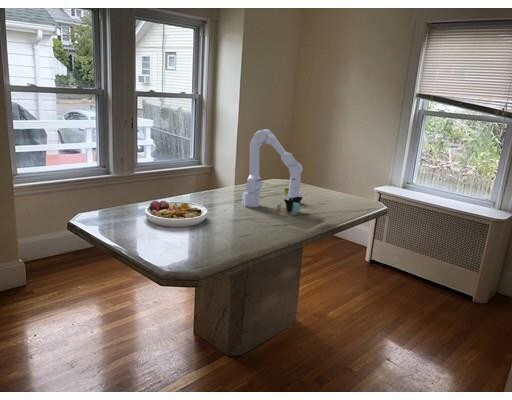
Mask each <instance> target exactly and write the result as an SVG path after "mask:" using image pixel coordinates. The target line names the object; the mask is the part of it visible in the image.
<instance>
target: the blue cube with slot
mask: <svg viewBox="0 0 512 400" xmlns="http://www.w3.org/2000/svg"><path fill="white" fill-rule="evenodd" d="M300 204H301V202H300V203H296V202H294V203H293V206H292V211H291V212H287V207H286V206H285V208H286V211H285V212H287V213H291V214H296V213H298V212H300Z"/></svg>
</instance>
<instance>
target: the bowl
mask: <svg viewBox="0 0 512 400" xmlns="http://www.w3.org/2000/svg"><path fill="white" fill-rule="evenodd" d="M144 213H145V217H146V218H147V219H148V220H149V221H150V222H151V223H153V224H155V225H158V226H162V227H166V228H167V227H168V228H169V227H170V228H186V227H193V226H195V225H199V224H200V223H202V222H204V221H205V220H206V218H207V217H208V209H207V208H206V207H205V206H203V205H201V204H197V203H193V202H186V201H166V200H160V201H158V200H153V201H152V202H151V203H149V205H148V206H146V208H145V210H144Z"/></svg>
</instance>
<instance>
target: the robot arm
mask: <svg viewBox="0 0 512 400" xmlns="http://www.w3.org/2000/svg"><path fill="white" fill-rule="evenodd" d="M264 143H265V144H267V145H271V146H272V147H273V149H275V151H276V152H277V153H278V154H279V155H280V160H281V161H282V162H283V164H284V165H285V166H286V167H287V169H288V172H289V174H290V177H289V187H288V188H289V193H288V194H287V196H285V195H284V198H283V201H284V203H285V208H286V207H287V212H291V211H292V206H293V203H294V202H296V203H300V204H301V201H302V200H303V196H302V195H303V192H302V191H300V188H301V181H302V180H301V179H302V177H301V175H302V172H303V170H304V168H303V166H302V164H301V163H300V162H298V161H297V160H296V159H295V157H294V156H293V153H292V152H291V153H290V151H286V150H285V148H284V147H283V146H282V144H281V143H280V142H279V140H278V138H277V137H276V136H275V134H274V133H273V132H272V130H270V129H268V128H265V129H259V130H257V131H256V132H255V133H253V137H252V138H251V141H250V142H249V174H248V177H247V180H246V181H247V182H246V183H245V190H246V191H243V192H242V194H241V206H243V207H244V208H257V207H259V206H260V195H261V190H260V189H261V188H262V186H263V184H262V180H261V176H260V147H261V146H262V145H263V144H264ZM292 198H293V200H292Z"/></svg>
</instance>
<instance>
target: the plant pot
mask: <svg viewBox="0 0 512 400" xmlns="http://www.w3.org/2000/svg"><path fill="white" fill-rule="evenodd" d="M282 190H283V193H284V197H285V196H287V194H288V193H289V187H285V188H283V189H282ZM292 200H293V198H292Z"/></svg>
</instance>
